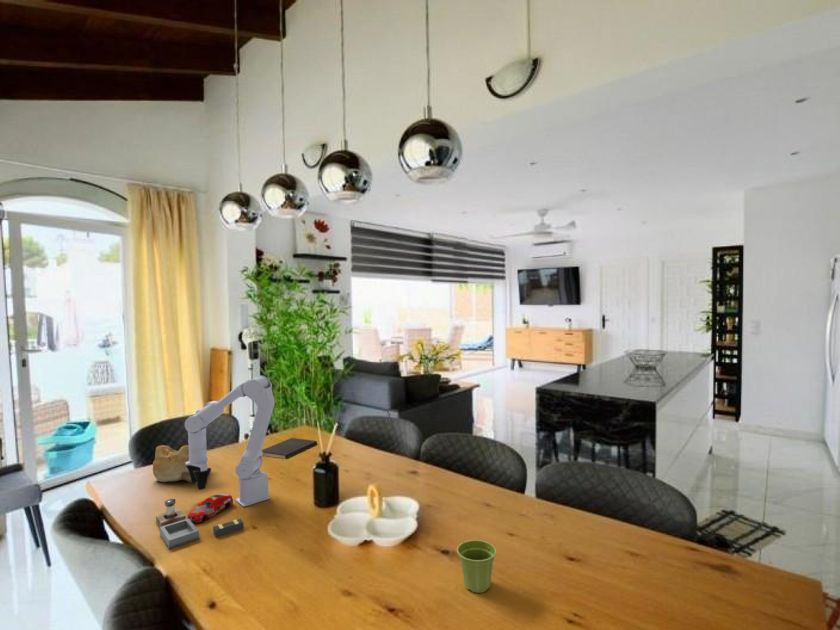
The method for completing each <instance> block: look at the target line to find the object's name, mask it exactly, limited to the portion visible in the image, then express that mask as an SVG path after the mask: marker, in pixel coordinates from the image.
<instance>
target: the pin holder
mask: <svg viewBox="0 0 840 630" xmlns="http://www.w3.org/2000/svg"><path fill="white" fill-rule="evenodd" d="M185 519H187V518H186V514H185V513H184V512H183V511H182V510H181V509H180V508H177V509H175V517H172V518H169V519H166V512H163V513H159V514H157V515H155V523H156V524H157V526H158V528H160V527H162V526H165V525H168V524H172V523H175V522H178V521H181V520H185Z"/></svg>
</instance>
